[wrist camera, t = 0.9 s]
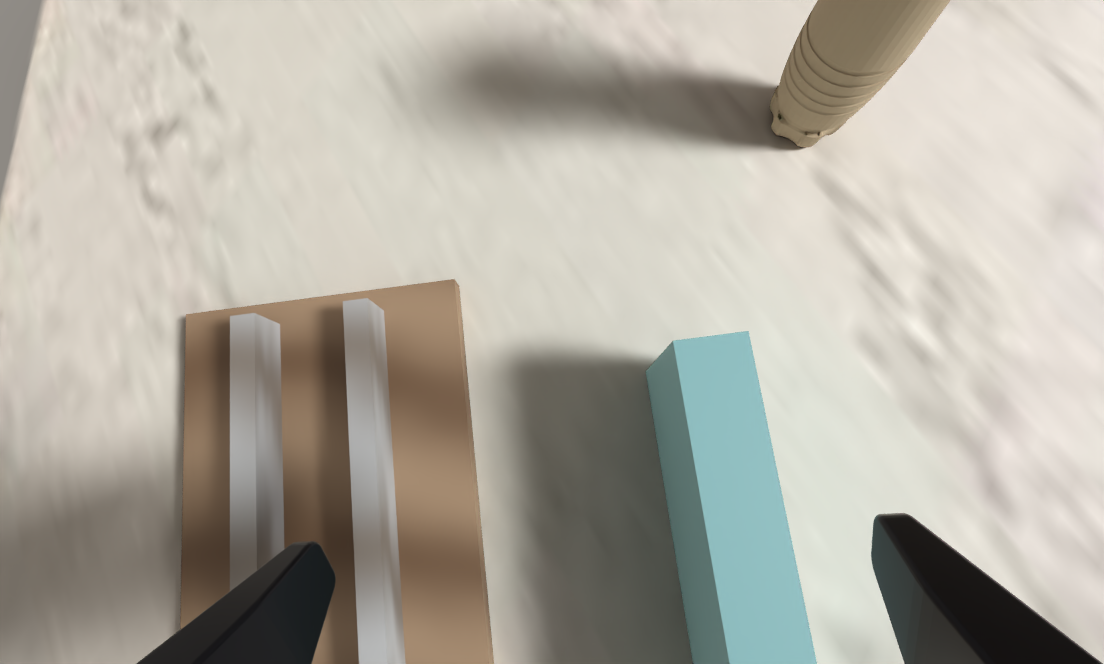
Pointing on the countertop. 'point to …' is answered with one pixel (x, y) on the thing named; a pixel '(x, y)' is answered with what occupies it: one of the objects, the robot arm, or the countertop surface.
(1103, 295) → the countertop surface
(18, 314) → the countertop surface
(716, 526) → the door panel
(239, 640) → the robot arm
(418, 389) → the track
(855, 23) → the handle
